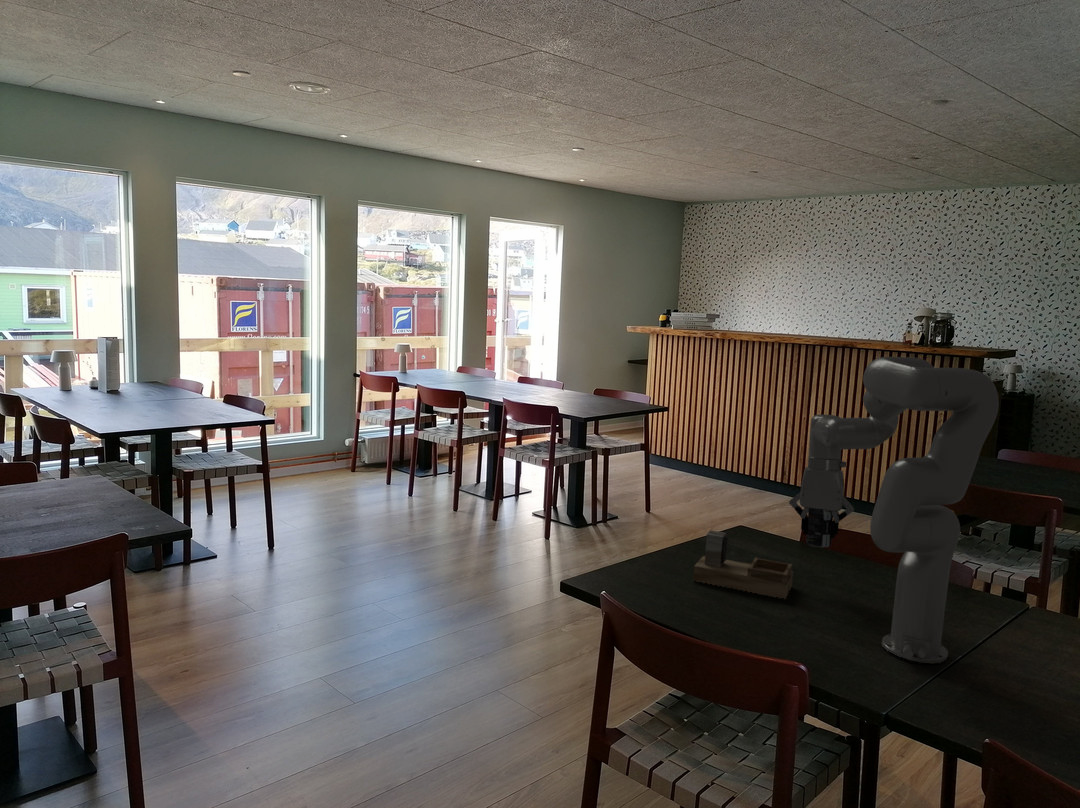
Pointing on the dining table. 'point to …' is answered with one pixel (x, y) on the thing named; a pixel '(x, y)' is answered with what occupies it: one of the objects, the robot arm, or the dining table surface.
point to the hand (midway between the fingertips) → (819, 534)
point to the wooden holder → (741, 570)
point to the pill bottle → (819, 528)
